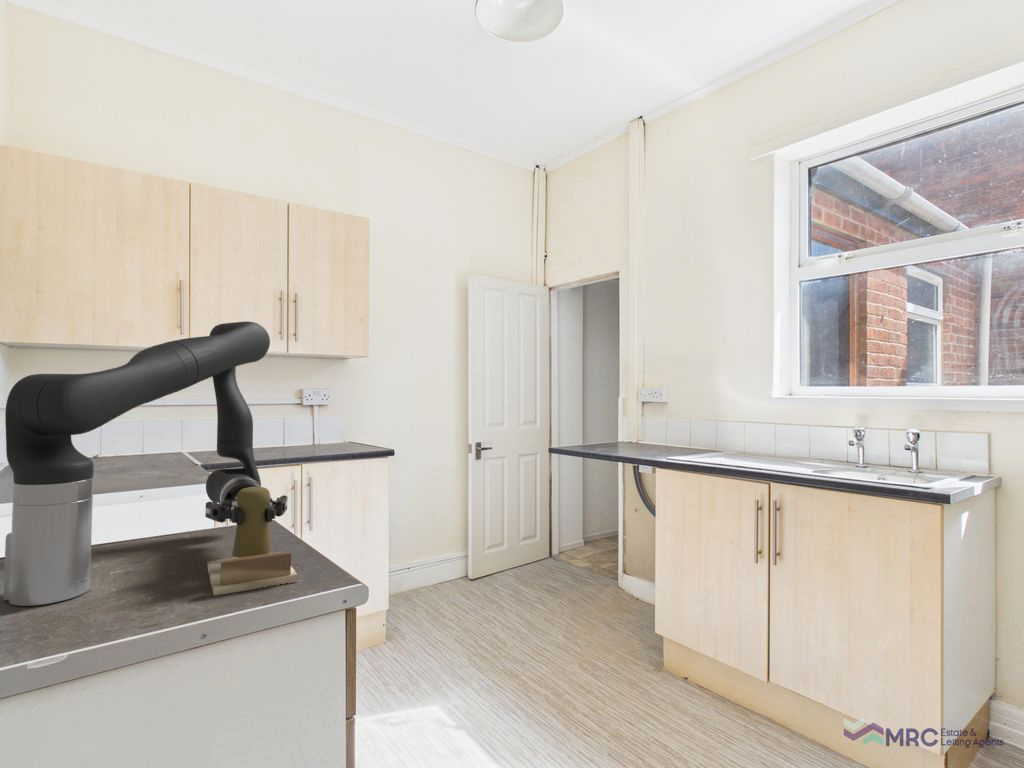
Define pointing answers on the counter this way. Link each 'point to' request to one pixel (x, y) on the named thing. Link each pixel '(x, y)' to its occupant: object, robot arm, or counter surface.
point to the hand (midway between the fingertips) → (255, 517)
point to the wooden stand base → (251, 572)
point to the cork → (252, 523)
